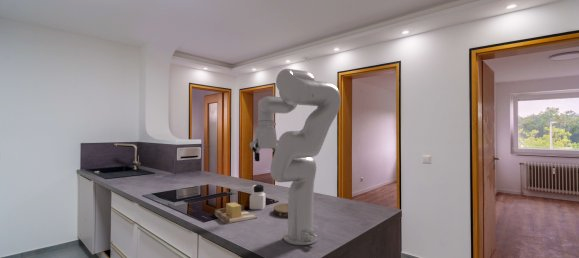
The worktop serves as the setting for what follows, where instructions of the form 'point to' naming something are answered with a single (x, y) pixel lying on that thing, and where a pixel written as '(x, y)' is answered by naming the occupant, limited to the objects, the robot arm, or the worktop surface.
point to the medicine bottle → (257, 197)
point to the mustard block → (233, 209)
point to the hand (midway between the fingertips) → (266, 160)
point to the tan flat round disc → (281, 210)
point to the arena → (227, 219)
